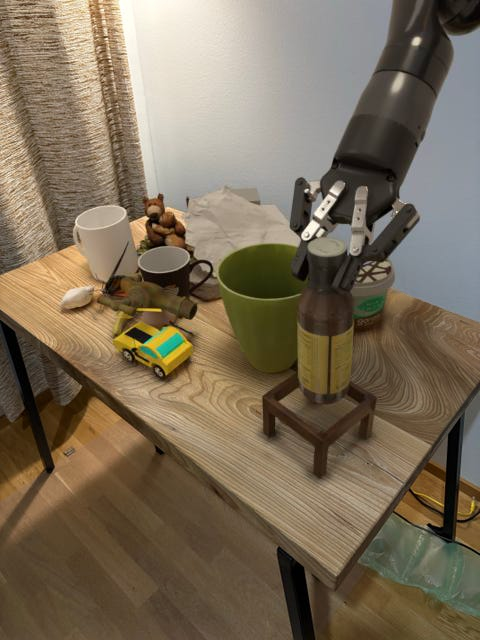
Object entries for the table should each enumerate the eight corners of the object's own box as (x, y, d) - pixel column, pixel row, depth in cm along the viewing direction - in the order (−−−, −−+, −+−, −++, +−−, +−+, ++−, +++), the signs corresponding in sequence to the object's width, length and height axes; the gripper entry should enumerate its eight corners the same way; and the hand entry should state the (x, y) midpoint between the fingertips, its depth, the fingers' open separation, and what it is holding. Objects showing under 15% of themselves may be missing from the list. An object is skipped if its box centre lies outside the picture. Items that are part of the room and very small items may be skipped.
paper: (169, 185, 99) (188, 287, 95) (180, 169, 93) (200, 276, 90) (279, 188, 109) (300, 280, 106) (294, 174, 104) (316, 270, 100)
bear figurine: (133, 278, 103) (122, 221, 95) (139, 241, 115) (129, 187, 107) (204, 272, 103) (199, 215, 96) (202, 236, 115) (197, 182, 108)
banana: (122, 302, 94) (144, 302, 93) (125, 310, 95) (146, 310, 94) (105, 331, 87) (127, 332, 87) (108, 340, 89) (130, 340, 88)
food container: (352, 347, 84) (357, 294, 78) (324, 328, 88) (327, 277, 82) (404, 317, 89) (413, 266, 83) (376, 301, 93) (383, 251, 87)
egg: (157, 314, 93) (134, 333, 88) (157, 288, 90) (133, 306, 85) (182, 323, 92) (161, 342, 86) (183, 297, 89) (161, 316, 84)
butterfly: (69, 276, 89) (120, 259, 86) (88, 247, 97) (135, 230, 93) (107, 330, 95) (155, 316, 92) (122, 299, 103) (167, 285, 100)
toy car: (199, 358, 83) (194, 315, 78) (164, 387, 78) (156, 343, 73) (145, 331, 89) (136, 290, 84) (110, 356, 84) (99, 314, 79)
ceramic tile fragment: (210, 308, 93) (245, 284, 99) (208, 292, 91) (245, 269, 98) (162, 289, 100) (198, 267, 106) (159, 273, 98) (196, 252, 104)
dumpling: (75, 319, 93) (64, 302, 91) (61, 313, 97) (50, 296, 95) (106, 296, 96) (95, 278, 94) (91, 290, 100) (81, 273, 98)
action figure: (211, 293, 86) (163, 311, 72) (205, 317, 87) (158, 339, 73) (134, 266, 90) (76, 277, 77) (130, 289, 91) (72, 305, 78)
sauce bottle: (344, 369, 68) (358, 228, 55) (352, 406, 63) (369, 260, 50) (293, 371, 68) (296, 231, 56) (297, 407, 63) (301, 262, 51)
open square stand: (371, 435, 70) (377, 397, 65) (319, 479, 65) (322, 441, 60) (314, 395, 76) (316, 358, 72) (263, 433, 71) (261, 395, 67)
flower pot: (215, 335, 88) (207, 250, 78) (302, 320, 90) (305, 235, 80) (234, 399, 76) (227, 308, 66) (333, 380, 78) (341, 289, 69)
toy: (263, 212, 102) (255, 181, 114) (223, 215, 101) (219, 184, 113) (264, 256, 108) (257, 222, 119) (227, 259, 107) (223, 225, 119)
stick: (194, 324, 88) (195, 336, 88) (192, 324, 88) (193, 336, 88) (170, 320, 83) (170, 332, 83) (167, 320, 83) (168, 333, 83)
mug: (135, 282, 101) (120, 227, 94) (74, 286, 102) (54, 232, 95) (144, 256, 109) (131, 203, 101) (87, 260, 110) (70, 208, 103)
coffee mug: (139, 320, 92) (129, 270, 86) (157, 292, 98) (149, 244, 92) (204, 327, 89) (198, 276, 83) (217, 298, 96) (213, 249, 90)
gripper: (311, 102, 55) (244, 254, 55) (447, 122, 48) (370, 299, 48) (335, 138, 61) (275, 275, 61) (458, 161, 54) (390, 317, 54)
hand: (317, 285), depth 54 cm, fingers closed on sauce bottle, 4 cm apart
